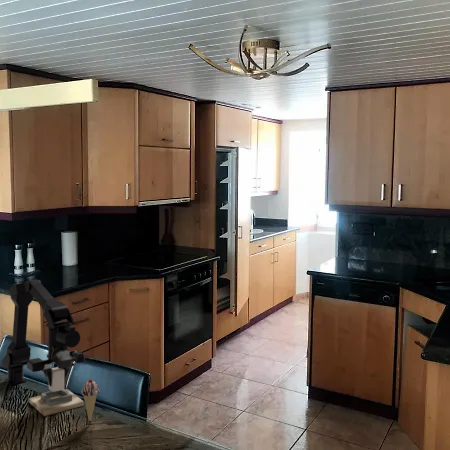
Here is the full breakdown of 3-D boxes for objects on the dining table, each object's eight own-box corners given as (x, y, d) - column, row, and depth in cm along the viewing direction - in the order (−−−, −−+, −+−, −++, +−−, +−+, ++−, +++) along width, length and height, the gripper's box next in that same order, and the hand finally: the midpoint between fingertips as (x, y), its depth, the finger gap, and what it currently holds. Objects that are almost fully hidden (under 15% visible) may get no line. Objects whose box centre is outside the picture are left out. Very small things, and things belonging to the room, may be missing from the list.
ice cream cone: (79, 422, 163) (79, 377, 163) (97, 419, 166) (97, 375, 165) (82, 430, 158) (82, 383, 157) (100, 427, 161) (101, 381, 160)
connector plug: (48, 388, 177) (48, 368, 177) (59, 385, 180) (59, 366, 179) (53, 392, 174) (53, 372, 174) (64, 389, 177) (64, 369, 176)
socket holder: (29, 402, 178) (29, 392, 178) (67, 392, 187) (67, 383, 187) (44, 416, 167) (44, 405, 167) (83, 405, 177) (83, 395, 176)
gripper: (38, 351, 164) (38, 398, 165) (92, 342, 176) (91, 385, 177) (26, 343, 172) (26, 388, 173) (78, 334, 184) (77, 376, 185)
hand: (56, 384), depth 177 cm, fingers closed on connector plug, 4 cm apart
